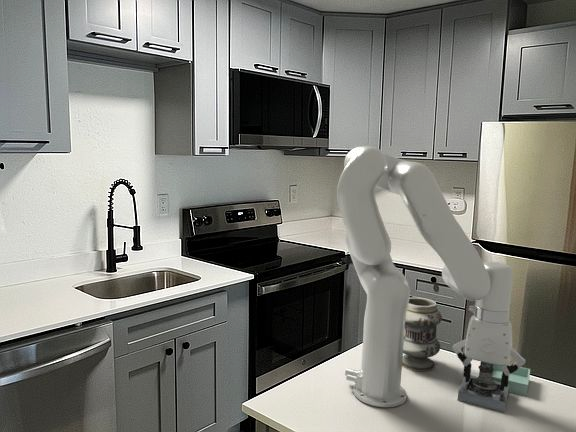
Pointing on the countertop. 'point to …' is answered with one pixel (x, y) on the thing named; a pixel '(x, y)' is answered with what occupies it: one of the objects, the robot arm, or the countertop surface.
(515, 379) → the tray
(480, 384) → the salt shaker
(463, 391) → the grey square frame
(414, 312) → the apothecary jar
